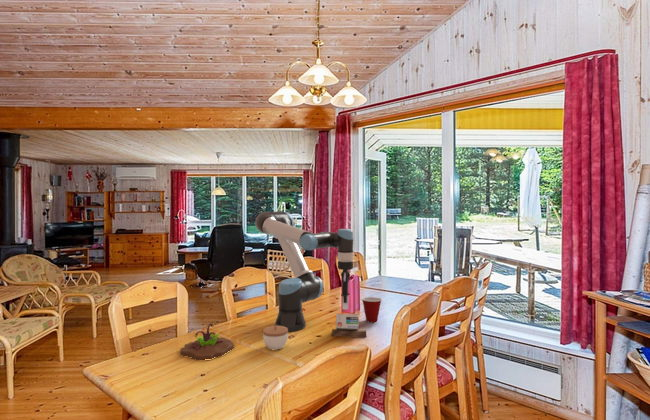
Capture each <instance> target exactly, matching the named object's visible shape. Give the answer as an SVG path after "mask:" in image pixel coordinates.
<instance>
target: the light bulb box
mask: <svg viewBox="0 0 650 420" xmlns="http://www.w3.org/2000/svg"><path fill="white" fill-rule="evenodd" d="M359 323H360V322H359V314H358V313H336V317H335V329H345V330H359Z"/></svg>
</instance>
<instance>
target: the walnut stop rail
mask: <svg viewBox="0 0 650 420" xmlns="http://www.w3.org/2000/svg"><path fill="white" fill-rule="evenodd" d="M331 336H332V337H350V338H351V337H353V338H354V337H356V338H357V337H359V338H367V330H366V329H358V330H345V329H336V328H332V330H331Z"/></svg>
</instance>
